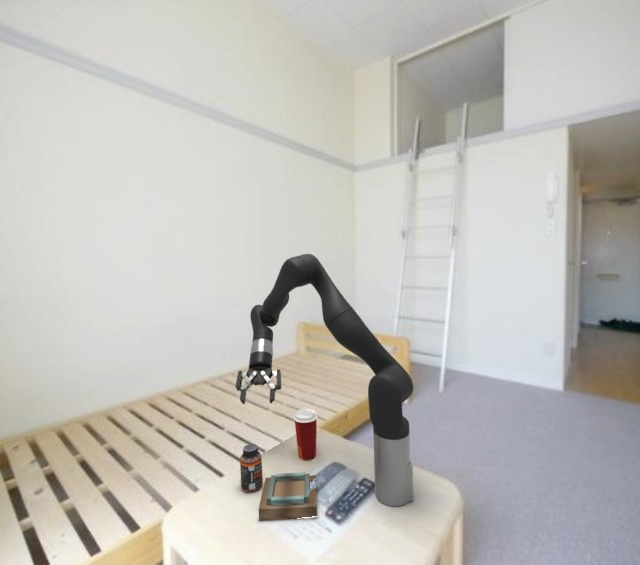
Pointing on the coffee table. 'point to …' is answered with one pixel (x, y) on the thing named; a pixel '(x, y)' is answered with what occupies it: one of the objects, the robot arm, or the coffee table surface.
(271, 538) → the coffee table surface
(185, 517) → the coffee table surface
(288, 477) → the walnut foundation
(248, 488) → the supplement bottle
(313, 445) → the paper cup
